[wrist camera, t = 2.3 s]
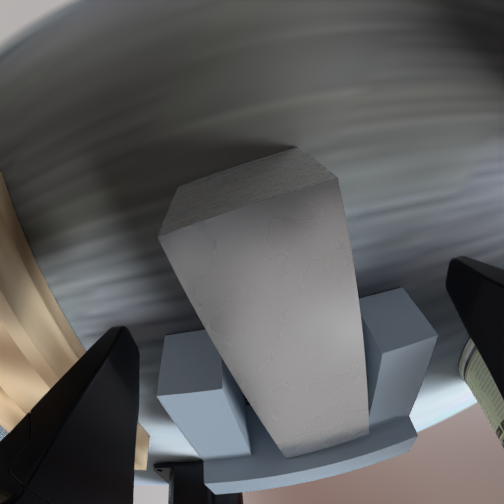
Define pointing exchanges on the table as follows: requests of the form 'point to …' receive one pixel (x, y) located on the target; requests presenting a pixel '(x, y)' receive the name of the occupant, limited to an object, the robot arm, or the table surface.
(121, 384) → the robot arm
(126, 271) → the table surface
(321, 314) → the steel block
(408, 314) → the bracket
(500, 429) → the coffee can
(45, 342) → the oak tray
